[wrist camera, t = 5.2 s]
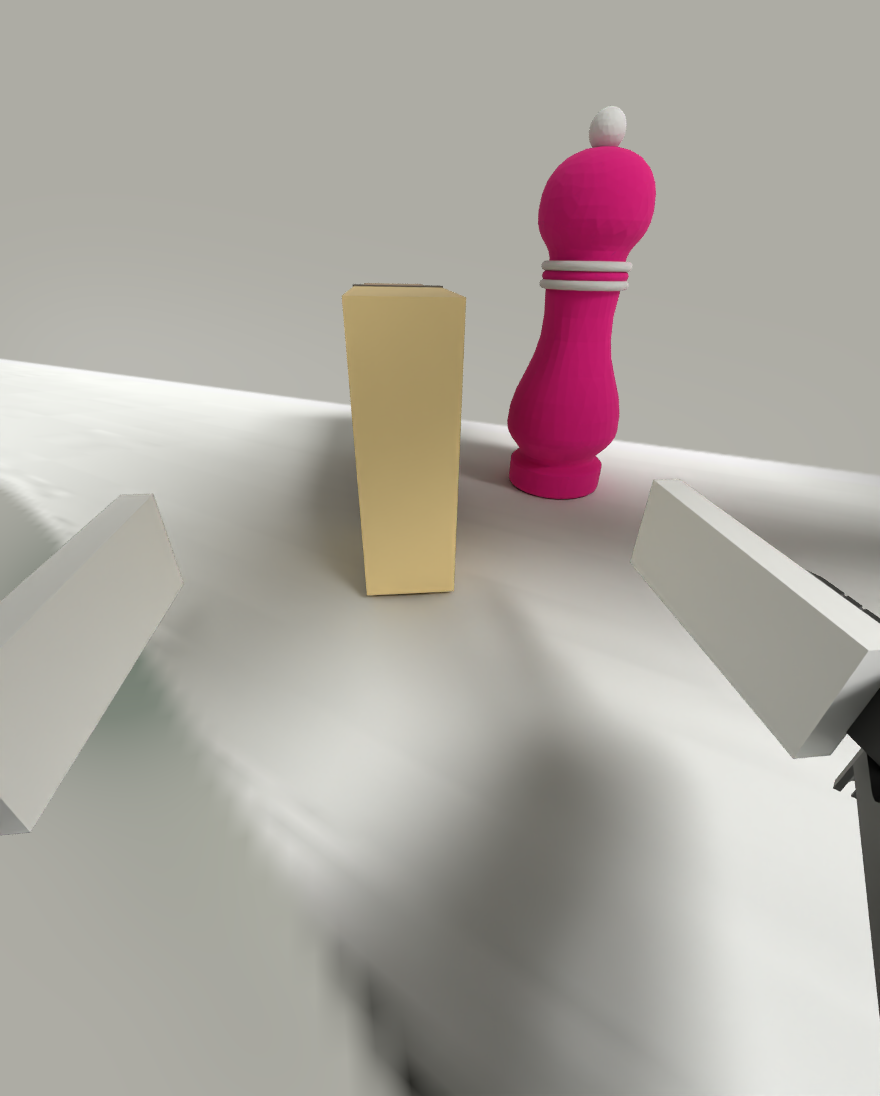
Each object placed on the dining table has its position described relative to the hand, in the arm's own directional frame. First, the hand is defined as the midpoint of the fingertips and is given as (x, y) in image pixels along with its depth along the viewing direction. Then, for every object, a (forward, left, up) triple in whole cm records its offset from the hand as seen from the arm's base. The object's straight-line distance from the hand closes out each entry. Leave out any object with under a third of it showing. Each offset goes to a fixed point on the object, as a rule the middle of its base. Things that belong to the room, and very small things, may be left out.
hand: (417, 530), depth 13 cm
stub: (+6, -8, -7) cm, 12 cm away
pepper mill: (+4, -21, -7) cm, 23 cm away
